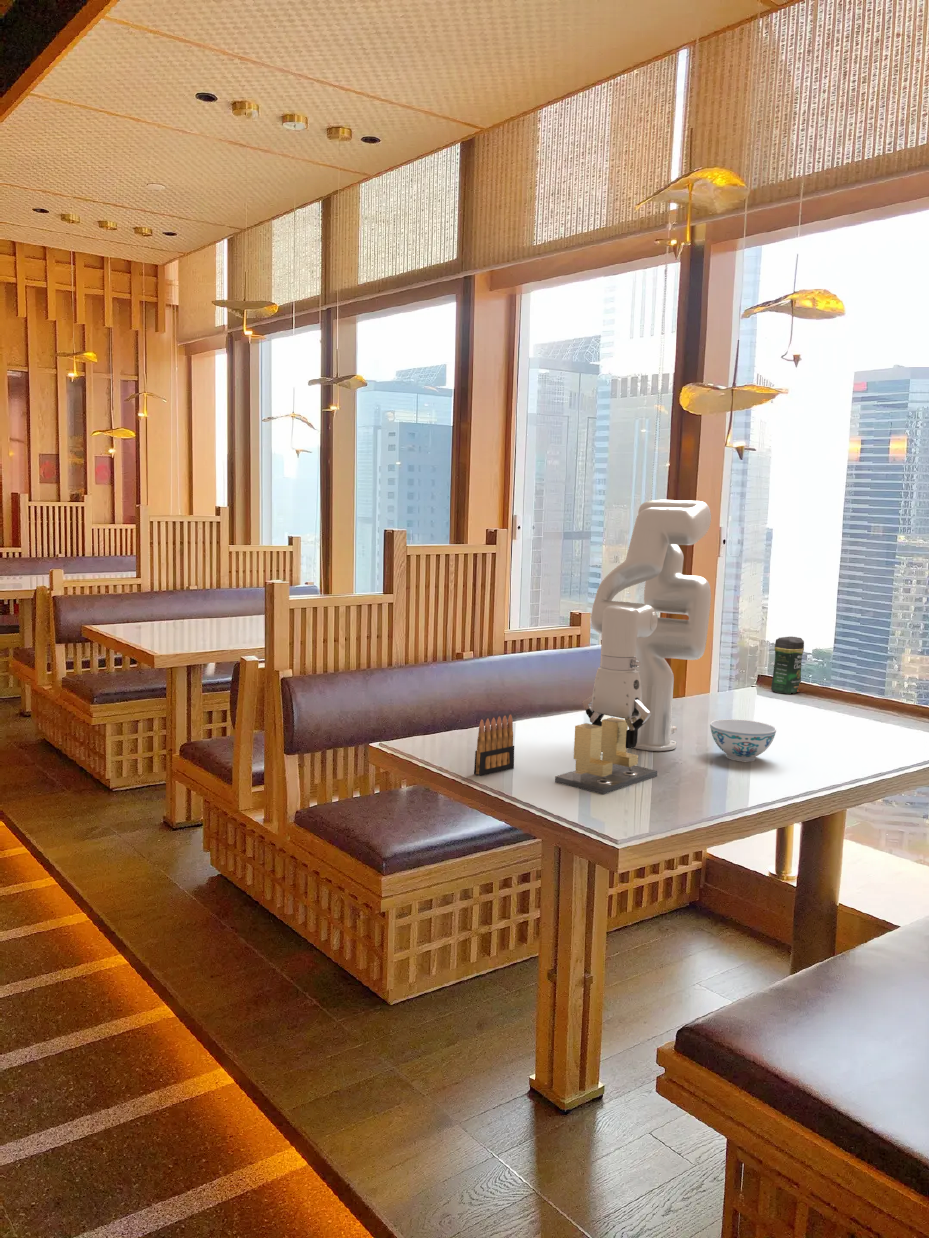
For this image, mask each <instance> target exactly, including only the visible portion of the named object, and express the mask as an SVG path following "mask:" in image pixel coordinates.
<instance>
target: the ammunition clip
mask: <svg viewBox="0 0 929 1238" xmlns="http://www.w3.org/2000/svg"><path fill="white" fill-rule="evenodd" d="M513 723H514V722H513V716H512V714H509V716H508V718H507V716H506V715H504V716H503V717H502V718H501V716H500V715H499V716H498V717H497V720H496V719H495V717H492V719H491V722H490V719H489V717H487V718H486V720H485V722H484V720H483V719H482V718H481V719H480V722H479V726H478V735H477V740H476V741H477V743H476V750H475V754H474V766H473V769H474V770H473V775H474V776H478V777H483V776H487V775H492V774H495V773H499V772H500V773H501V772H505V771H509V770H514V769H515V745H514V728H513V727H514V726H513Z"/></svg>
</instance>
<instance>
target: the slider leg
mask: <svg viewBox="0 0 929 1238" xmlns="http://www.w3.org/2000/svg"><path fill="white" fill-rule="evenodd" d="M601 721H602V740H601V753H602V759H601V760H604V761H608V762H613V764H617V765H621V766H626V767H629V771H632V766H634V765H635V766H638V764H639V762H638V761H639V754H634V753H629V752H627V748H626V731H627V730H629V727H628V725H627V723H626V721H625V719H624V718H619V717H613V716H611V717H608V718H604V719H603V718H602V719H601Z"/></svg>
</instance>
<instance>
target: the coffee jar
mask: <svg viewBox="0 0 929 1238" xmlns="http://www.w3.org/2000/svg"><path fill="white" fill-rule="evenodd" d="M804 650H805V641H804V640H803V638H801V637H797V636H783V637H778V638H777V639H775V643H774V663H773V673H772V678H771V686H770V688H771V691H773V692H775V693H777V694H788V695H789V694H790V695H792V694H791V693H793V694H797V693H796V692H797V689H798V687H799V683H800V682H801V683H802V661H803V660H802V659H803V654H804V652H805V651H804Z"/></svg>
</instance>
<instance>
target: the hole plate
mask: <svg viewBox="0 0 929 1238" xmlns="http://www.w3.org/2000/svg"><path fill="white" fill-rule="evenodd" d="M601 740H602V726H598V725H593V724H592V723H587V722H586V723H585V722H584V723H581V724H577V725H574V742H573V760H575V770H572V771H569V772H566V773H563V774H559V775H557V776H554V782H555V783H556V784H562V785H564V786H570V787H573V788H576V789H581V790H585V791H590V792H592V793H597V794H600V795H606V794H609V793H612V792H614V791H617V790H620V789H623V788H626V787H629V786H632V785H635V784H637V783H641V782H643V781H646V780H649V779H652V778H655V777H657V776H658V770H657V769H652V768H647V767H644V766H640V765H634V766H632V771H629V767H626V766H621V765H617V764H613V762H608V761H604V760H602V759H601V757H602V756H601V755H602V754H601V753H602V752H601Z"/></svg>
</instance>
